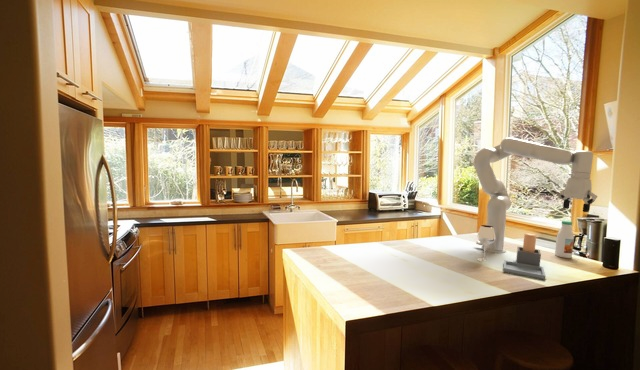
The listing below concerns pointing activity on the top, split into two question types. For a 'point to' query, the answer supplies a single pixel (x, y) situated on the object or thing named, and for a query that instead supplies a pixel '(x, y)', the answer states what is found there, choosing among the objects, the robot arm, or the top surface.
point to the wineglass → (486, 237)
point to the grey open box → (528, 257)
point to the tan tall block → (529, 243)
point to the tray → (524, 270)
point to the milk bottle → (565, 240)
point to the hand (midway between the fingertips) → (575, 210)
